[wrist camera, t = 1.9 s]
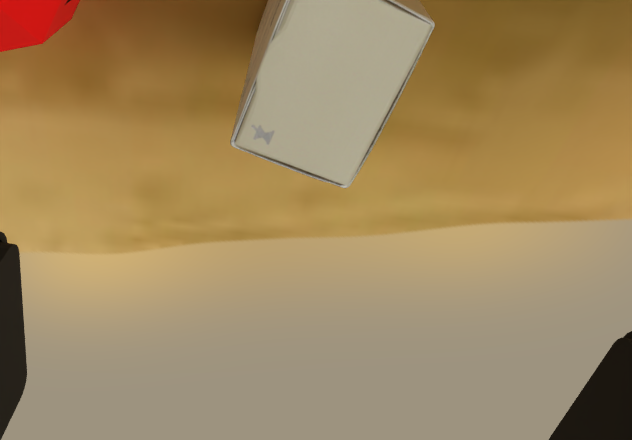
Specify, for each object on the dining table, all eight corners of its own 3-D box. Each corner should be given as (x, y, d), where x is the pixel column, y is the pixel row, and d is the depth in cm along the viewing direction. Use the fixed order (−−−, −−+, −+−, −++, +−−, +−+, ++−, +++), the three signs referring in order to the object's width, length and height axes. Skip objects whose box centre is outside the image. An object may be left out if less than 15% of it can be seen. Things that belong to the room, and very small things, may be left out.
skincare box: (334, 71, 30) (346, 201, 20) (252, 37, 29) (223, 155, 19) (394, -56, 27) (444, 23, 17) (304, -100, 26) (301, -44, 16)
